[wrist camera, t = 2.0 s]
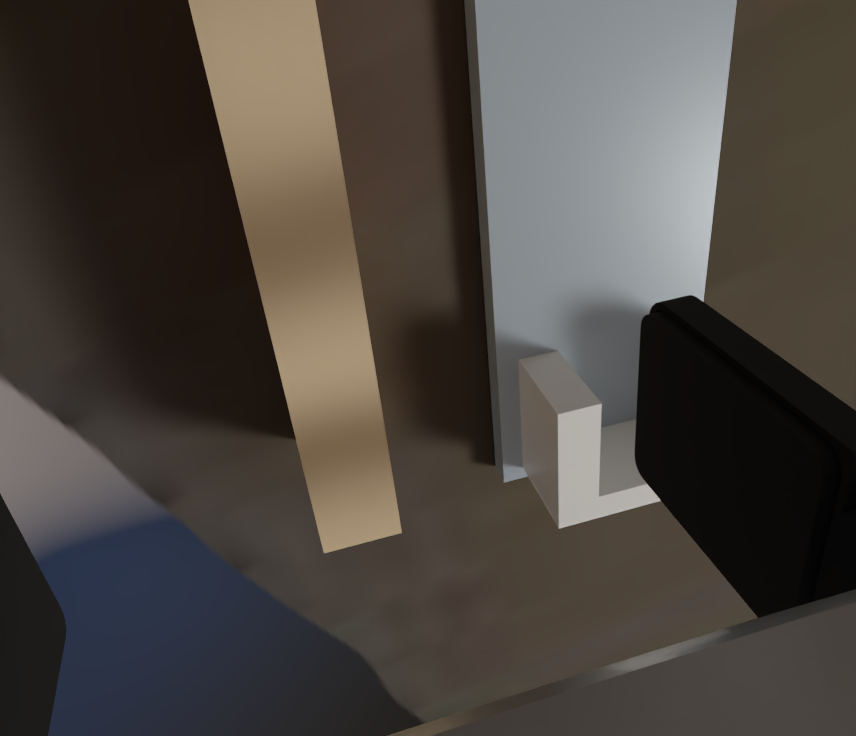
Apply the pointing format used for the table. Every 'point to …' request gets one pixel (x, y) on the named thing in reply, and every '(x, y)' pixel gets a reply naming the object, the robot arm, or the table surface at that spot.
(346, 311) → the slat
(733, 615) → the table surface
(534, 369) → the endcap board
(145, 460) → the table surface
